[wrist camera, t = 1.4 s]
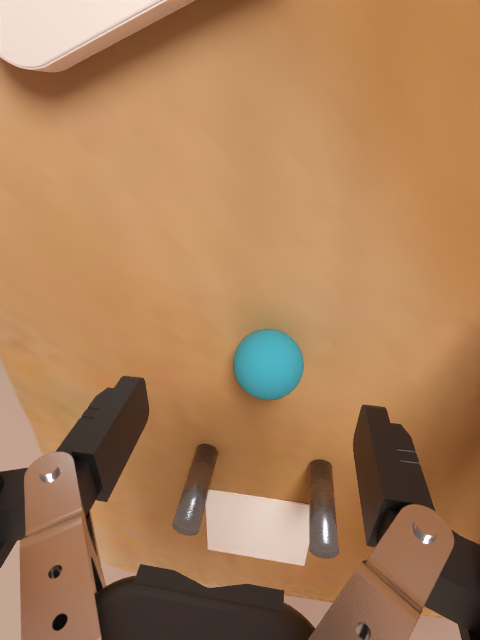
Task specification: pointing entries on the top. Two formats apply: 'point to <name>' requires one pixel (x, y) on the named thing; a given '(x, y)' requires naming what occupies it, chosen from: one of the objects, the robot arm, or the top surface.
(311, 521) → the post
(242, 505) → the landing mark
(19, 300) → the top surface
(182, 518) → the post
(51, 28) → the computer
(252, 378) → the ball
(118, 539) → the top surface
